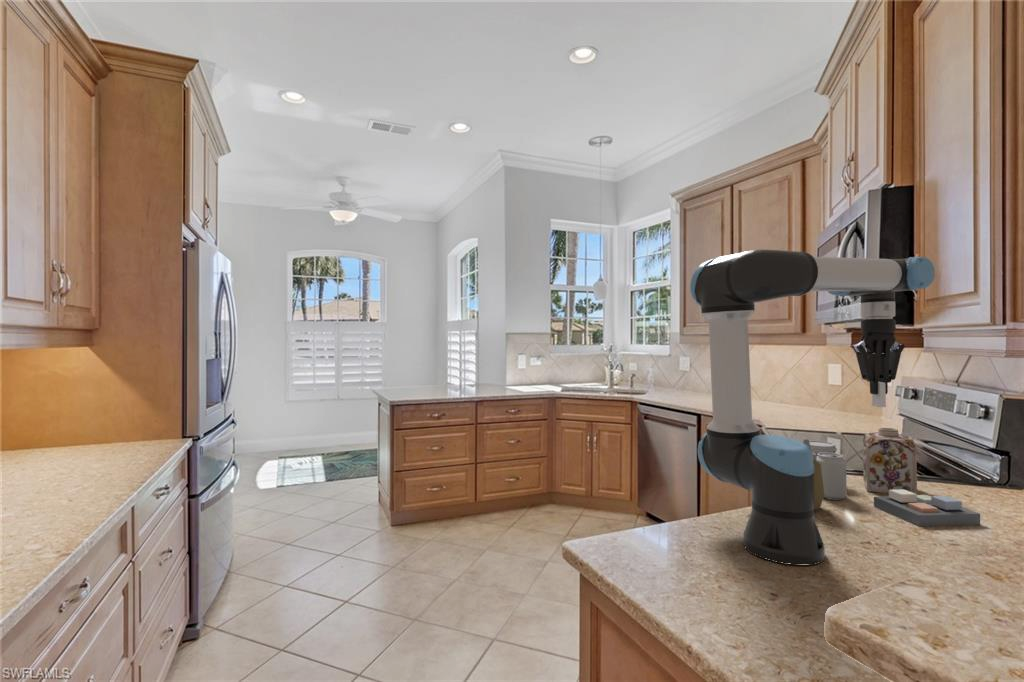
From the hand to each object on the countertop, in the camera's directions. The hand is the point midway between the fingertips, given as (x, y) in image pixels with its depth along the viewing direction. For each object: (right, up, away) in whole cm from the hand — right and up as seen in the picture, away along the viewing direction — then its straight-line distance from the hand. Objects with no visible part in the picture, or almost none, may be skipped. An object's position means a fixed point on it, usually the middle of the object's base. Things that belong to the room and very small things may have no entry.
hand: (878, 406), depth 132 cm
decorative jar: (+13, -27, +13) cm, 32 cm away
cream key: (+3, -25, -5) cm, 25 cm away
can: (-8, -27, +8) cm, 29 cm away
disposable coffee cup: (-2, -27, +22) cm, 35 cm away
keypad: (+6, -26, -8) cm, 28 cm away
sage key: (+9, -26, -5) cm, 28 cm away
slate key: (+9, -24, -11) cm, 28 cm away
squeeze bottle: (-20, -27, -1) cm, 33 cm away
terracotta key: (+3, -26, -11) cm, 28 cm away
